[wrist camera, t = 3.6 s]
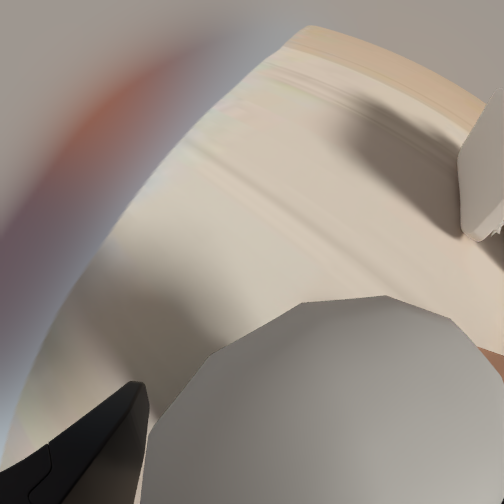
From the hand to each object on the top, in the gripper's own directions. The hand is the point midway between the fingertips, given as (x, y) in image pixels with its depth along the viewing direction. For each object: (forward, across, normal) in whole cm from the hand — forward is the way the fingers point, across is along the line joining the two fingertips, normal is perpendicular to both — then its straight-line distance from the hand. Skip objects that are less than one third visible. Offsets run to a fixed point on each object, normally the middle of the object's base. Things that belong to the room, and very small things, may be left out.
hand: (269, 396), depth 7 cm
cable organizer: (+14, -25, -5) cm, 30 cm away
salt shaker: (+4, 0, +6) cm, 7 cm away
